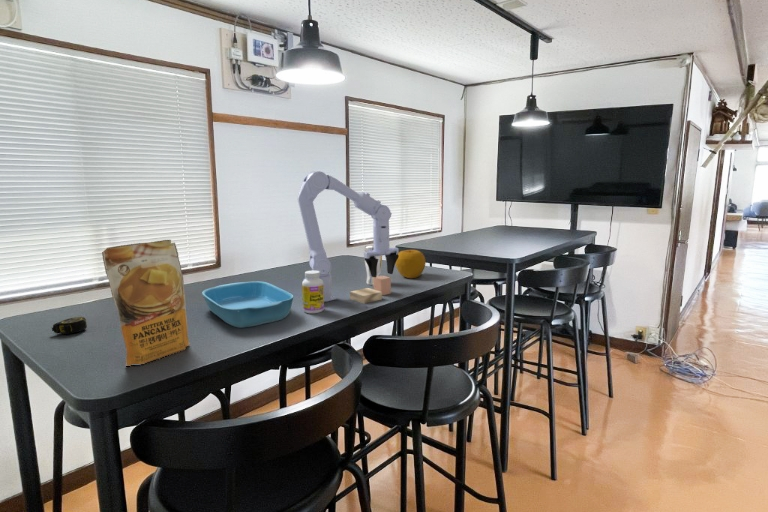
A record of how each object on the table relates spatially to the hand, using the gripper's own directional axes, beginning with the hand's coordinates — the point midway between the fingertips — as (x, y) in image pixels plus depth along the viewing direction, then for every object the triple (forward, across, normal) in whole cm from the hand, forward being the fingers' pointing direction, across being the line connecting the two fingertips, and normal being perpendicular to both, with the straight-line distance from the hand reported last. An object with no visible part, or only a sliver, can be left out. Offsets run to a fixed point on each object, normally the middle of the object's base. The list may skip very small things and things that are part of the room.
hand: (382, 275), depth 165 cm
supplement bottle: (+7, -30, -2) cm, 31 cm away
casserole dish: (+7, -47, +10) cm, 49 cm away
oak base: (+7, -9, -2) cm, 12 cm away
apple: (+7, +26, +13) cm, 30 cm away
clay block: (+7, 0, 0) cm, 7 cm away
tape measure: (+7, -93, +28) cm, 97 cm away
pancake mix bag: (+7, -78, -8) cm, 79 cm away
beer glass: (+7, +7, +14) cm, 17 cm away
